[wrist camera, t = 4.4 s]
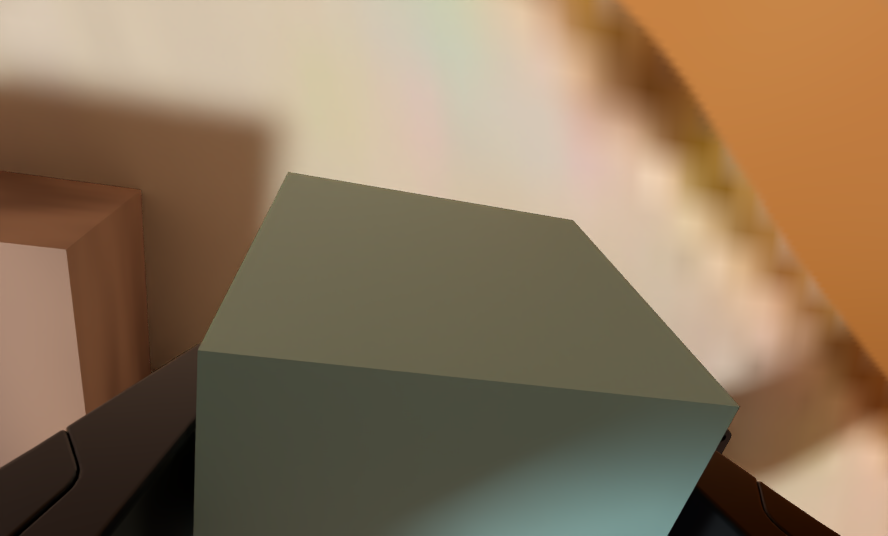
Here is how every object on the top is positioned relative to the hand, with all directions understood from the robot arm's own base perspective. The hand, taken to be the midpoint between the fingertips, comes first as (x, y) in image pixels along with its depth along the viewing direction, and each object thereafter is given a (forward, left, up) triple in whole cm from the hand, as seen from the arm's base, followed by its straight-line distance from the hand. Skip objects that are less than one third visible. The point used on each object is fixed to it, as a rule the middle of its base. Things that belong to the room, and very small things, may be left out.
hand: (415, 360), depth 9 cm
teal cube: (0, 0, -1) cm, 1 cm away
